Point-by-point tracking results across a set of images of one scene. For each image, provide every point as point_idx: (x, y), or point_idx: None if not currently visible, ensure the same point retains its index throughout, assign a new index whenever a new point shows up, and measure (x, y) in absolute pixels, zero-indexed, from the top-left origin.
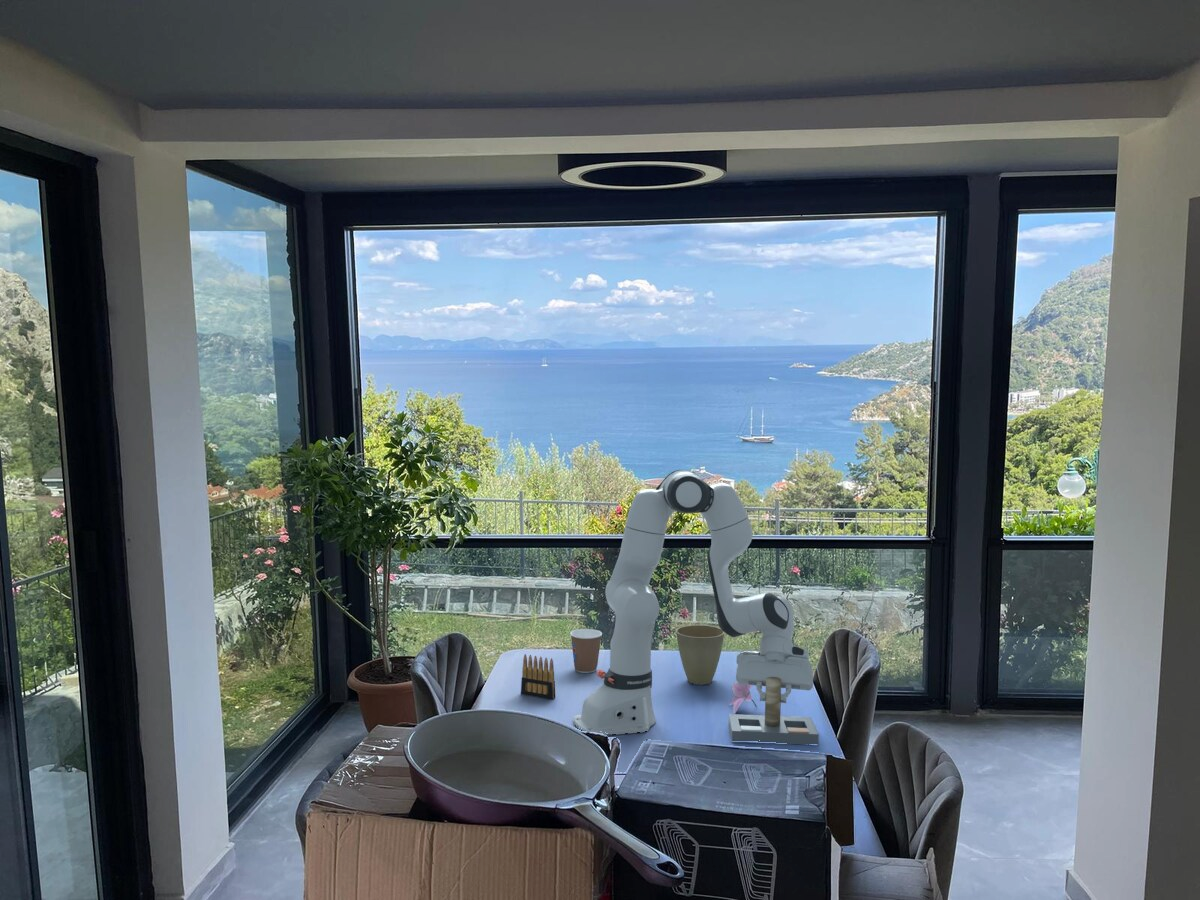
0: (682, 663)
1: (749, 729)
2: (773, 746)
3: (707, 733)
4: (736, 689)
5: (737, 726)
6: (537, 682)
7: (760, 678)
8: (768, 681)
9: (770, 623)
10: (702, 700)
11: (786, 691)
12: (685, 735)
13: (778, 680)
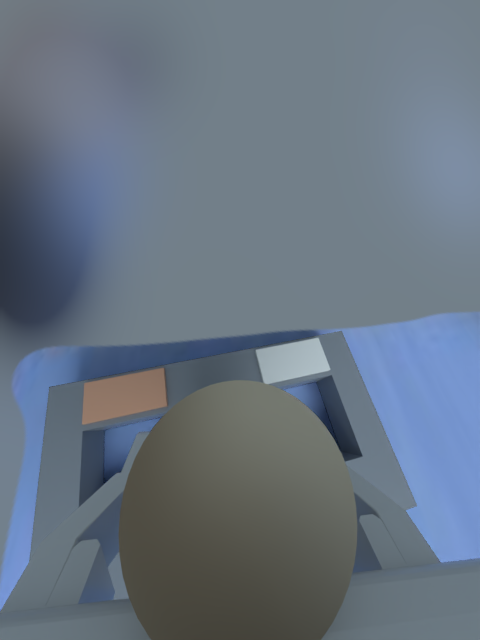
0: None
1: (294, 344)
2: (215, 348)
3: (408, 386)
4: None
5: (339, 373)
6: None
7: (438, 594)
8: (295, 401)
9: None
10: None
11: (110, 498)
12: (448, 354)
13: (169, 456)
